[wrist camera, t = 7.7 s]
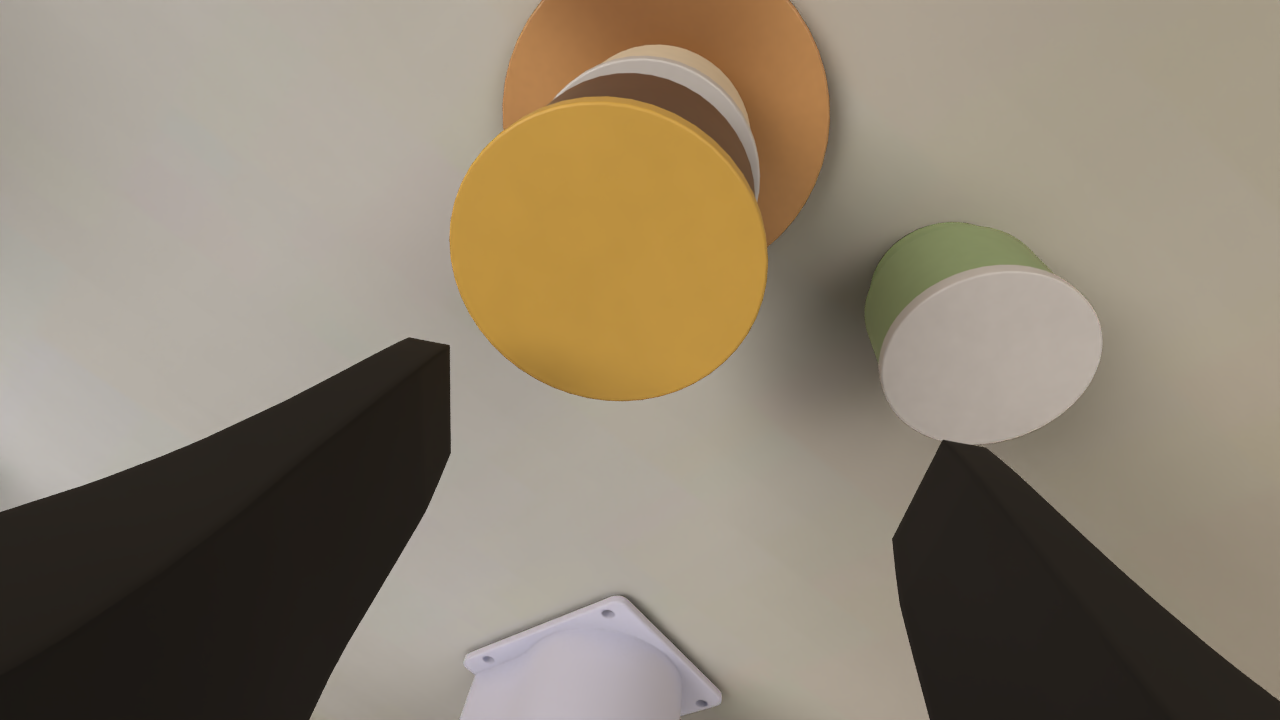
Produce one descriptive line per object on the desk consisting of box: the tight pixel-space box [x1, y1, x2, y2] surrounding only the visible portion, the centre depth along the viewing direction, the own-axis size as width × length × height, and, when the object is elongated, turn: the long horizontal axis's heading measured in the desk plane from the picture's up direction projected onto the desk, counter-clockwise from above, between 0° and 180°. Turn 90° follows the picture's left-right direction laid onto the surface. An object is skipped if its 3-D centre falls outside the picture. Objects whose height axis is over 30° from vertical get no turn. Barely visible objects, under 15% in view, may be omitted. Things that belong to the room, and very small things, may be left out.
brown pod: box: [449, 73, 768, 401], centre depth 11 cm, size 5×5×4 cm
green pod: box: [865, 222, 1103, 445], centre depth 17 cm, size 5×5×4 cm
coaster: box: [503, 0, 830, 247], centre depth 17 cm, size 8×8×1 cm
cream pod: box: [553, 45, 760, 201], centre depth 15 cm, size 5×5×4 cm
